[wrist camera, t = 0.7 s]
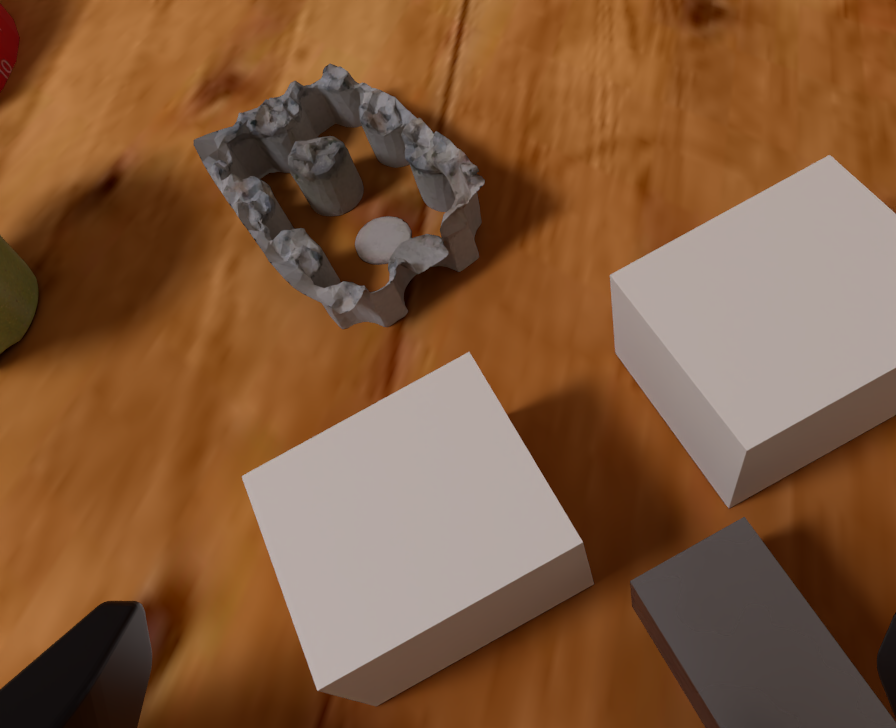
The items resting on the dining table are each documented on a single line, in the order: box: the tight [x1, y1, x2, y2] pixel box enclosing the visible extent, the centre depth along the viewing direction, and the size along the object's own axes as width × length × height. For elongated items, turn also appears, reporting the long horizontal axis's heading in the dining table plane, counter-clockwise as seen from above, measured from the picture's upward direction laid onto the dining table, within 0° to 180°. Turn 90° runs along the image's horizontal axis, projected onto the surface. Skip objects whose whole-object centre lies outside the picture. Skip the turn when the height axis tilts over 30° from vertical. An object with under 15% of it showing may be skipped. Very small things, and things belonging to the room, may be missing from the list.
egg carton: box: [194, 64, 485, 329], centre depth 29 cm, size 11×8×4 cm
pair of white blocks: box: [242, 155, 896, 706], centre depth 21 cm, size 6×18×4 cm, turn 116°
